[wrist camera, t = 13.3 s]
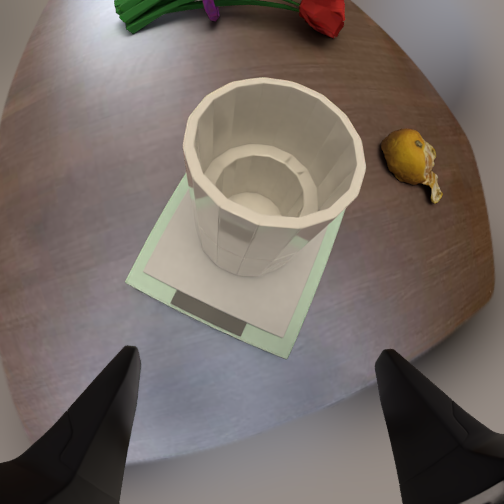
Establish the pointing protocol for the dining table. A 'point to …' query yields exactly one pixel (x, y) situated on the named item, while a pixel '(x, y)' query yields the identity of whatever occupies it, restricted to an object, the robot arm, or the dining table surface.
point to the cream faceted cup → (267, 171)
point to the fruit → (411, 159)
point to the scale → (229, 281)
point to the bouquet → (158, 3)
